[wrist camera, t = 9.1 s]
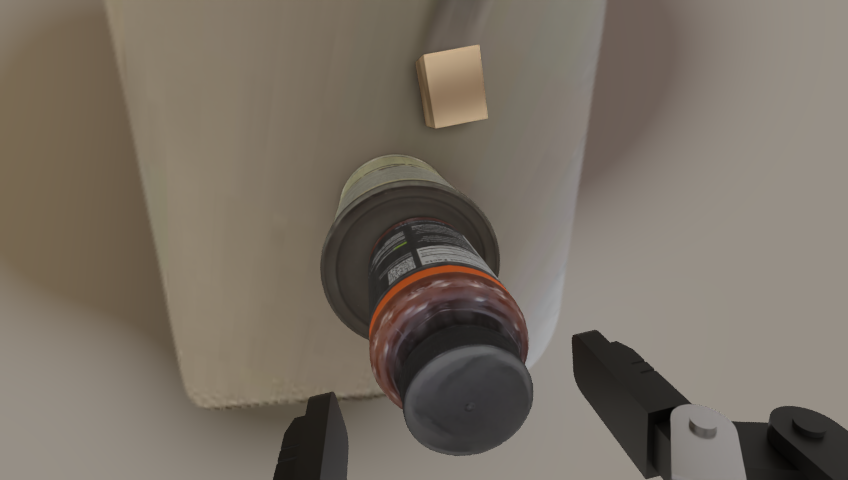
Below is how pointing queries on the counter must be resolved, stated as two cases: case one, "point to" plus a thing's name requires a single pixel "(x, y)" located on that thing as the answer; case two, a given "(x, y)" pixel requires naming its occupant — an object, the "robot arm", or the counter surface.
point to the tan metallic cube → (452, 86)
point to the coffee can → (380, 210)
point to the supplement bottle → (446, 339)
